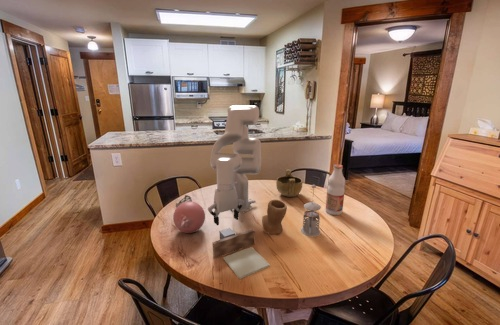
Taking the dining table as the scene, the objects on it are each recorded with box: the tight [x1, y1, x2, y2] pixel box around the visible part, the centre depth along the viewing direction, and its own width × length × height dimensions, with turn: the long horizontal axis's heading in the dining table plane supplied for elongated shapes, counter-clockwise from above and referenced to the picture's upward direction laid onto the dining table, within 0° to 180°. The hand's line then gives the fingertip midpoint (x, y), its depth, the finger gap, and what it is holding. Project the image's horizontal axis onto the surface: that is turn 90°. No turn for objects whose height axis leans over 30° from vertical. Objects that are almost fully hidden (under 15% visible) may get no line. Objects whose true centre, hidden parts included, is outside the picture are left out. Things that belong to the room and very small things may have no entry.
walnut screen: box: [212, 228, 256, 259], centre depth 114 cm, size 20×2×7 cm, turn 121°
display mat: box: [222, 246, 271, 280], centre depth 106 cm, size 14×14×1 cm
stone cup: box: [261, 199, 288, 235], centre depth 130 cm, size 15×12×15 cm
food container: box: [175, 194, 193, 208], centre depth 144 cm, size 12×6×10 cm, turn 168°
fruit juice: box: [324, 163, 346, 216], centre depth 145 cm, size 9×9×28 cm
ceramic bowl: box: [275, 169, 303, 198], centre depth 170 cm, size 22×17×15 cm
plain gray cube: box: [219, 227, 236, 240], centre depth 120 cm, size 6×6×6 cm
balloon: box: [172, 200, 206, 234], centre depth 126 cm, size 15×20×15 cm
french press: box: [300, 184, 322, 238], centre depth 125 cm, size 10×12×25 cm
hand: (226, 221), depth 117 cm, fingers open, 9 cm apart
